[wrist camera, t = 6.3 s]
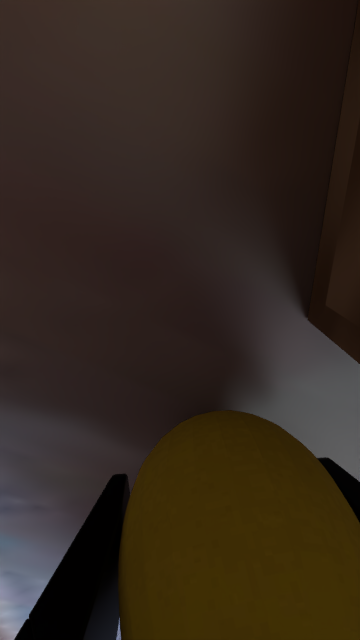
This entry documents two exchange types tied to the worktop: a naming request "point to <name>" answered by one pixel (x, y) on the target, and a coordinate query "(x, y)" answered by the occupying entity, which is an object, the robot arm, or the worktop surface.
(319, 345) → the worktop surface
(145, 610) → the lemon
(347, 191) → the tray
